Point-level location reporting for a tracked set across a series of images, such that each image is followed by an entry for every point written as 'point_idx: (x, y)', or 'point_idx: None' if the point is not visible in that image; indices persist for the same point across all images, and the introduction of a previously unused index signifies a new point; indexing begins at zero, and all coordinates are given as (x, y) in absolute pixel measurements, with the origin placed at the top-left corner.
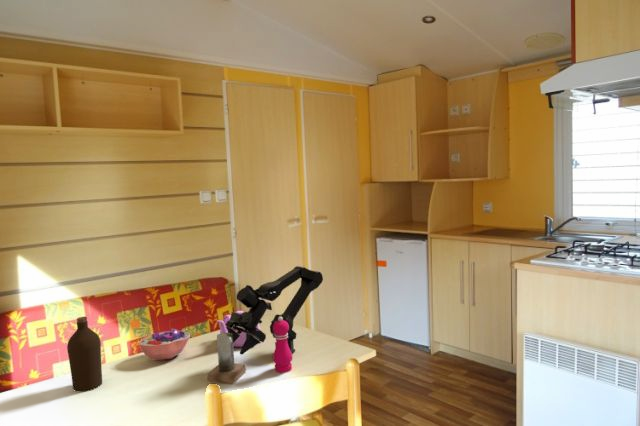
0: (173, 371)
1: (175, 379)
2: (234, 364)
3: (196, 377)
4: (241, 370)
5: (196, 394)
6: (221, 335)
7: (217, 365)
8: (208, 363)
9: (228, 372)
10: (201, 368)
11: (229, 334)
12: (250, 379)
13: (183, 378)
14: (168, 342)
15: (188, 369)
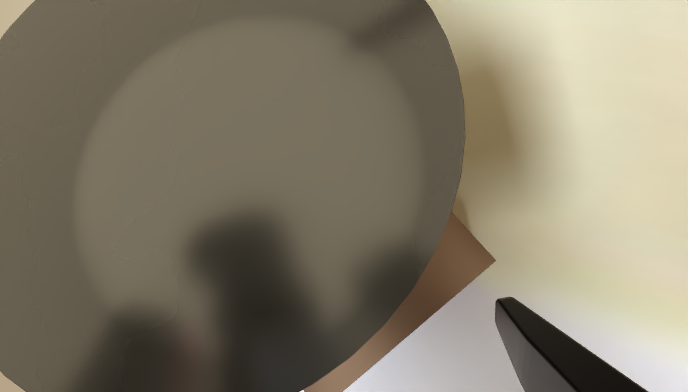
0: (650, 21)
1: (513, 9)
2: (379, 334)
3: (465, 103)
4: None
5: None
6: (229, 28)
7: (452, 214)
8: (674, 237)
9: None
10: (599, 167)
11: (103, 276)
12: None
13: (499, 44)
14: None
15: (631, 97)
